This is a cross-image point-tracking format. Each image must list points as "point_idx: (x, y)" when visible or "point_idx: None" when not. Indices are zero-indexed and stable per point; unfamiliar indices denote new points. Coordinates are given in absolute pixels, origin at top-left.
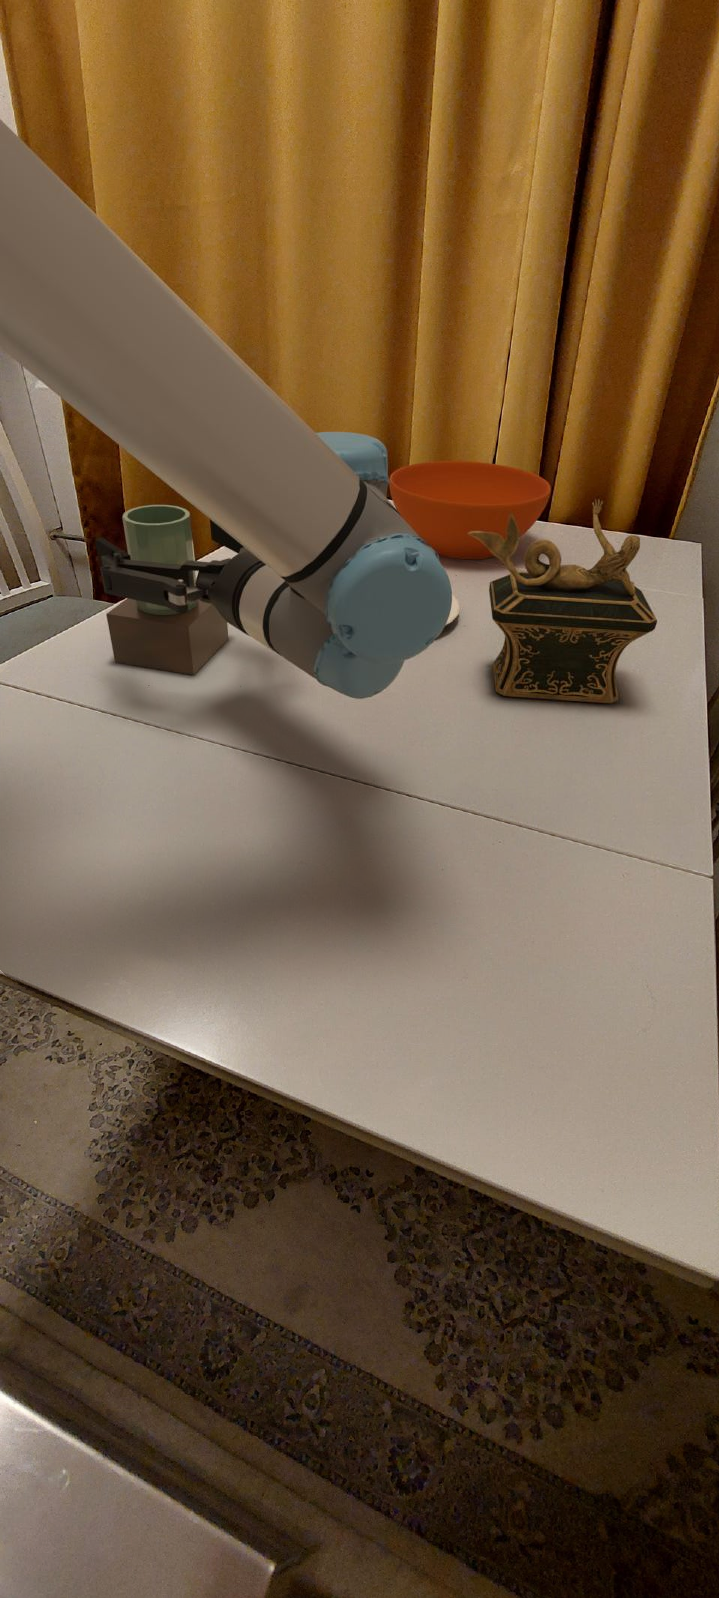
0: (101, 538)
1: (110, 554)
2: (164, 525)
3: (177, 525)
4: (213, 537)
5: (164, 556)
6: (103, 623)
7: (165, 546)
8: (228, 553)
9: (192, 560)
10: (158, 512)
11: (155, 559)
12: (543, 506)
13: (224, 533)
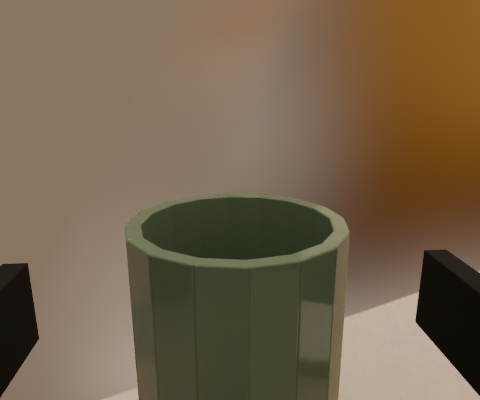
0: (16, 268)
1: None
2: (210, 271)
3: (268, 279)
4: (423, 319)
5: (198, 379)
6: None
7: (205, 347)
8: None
9: (321, 397)
10: (271, 215)
11: (168, 378)
12: None
13: (473, 333)
